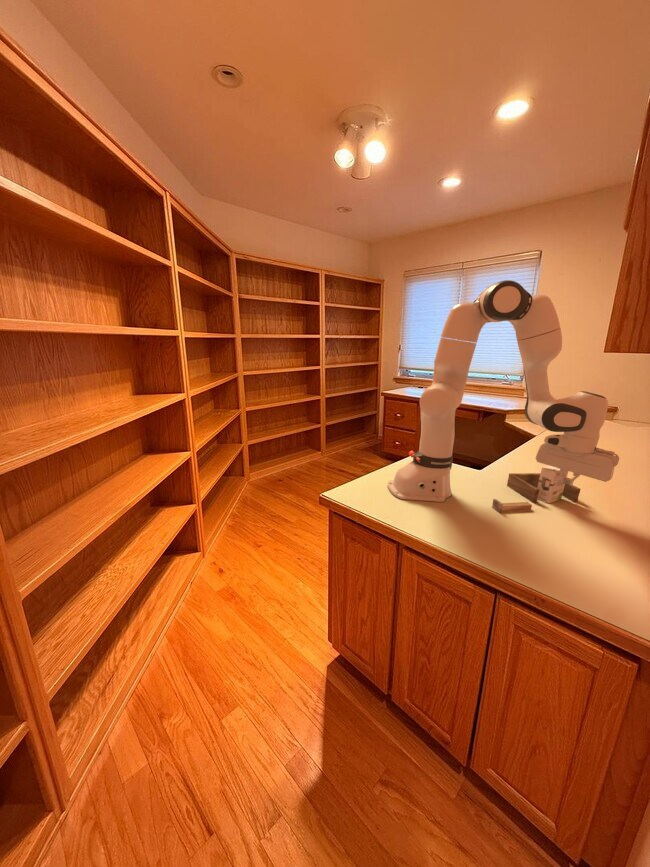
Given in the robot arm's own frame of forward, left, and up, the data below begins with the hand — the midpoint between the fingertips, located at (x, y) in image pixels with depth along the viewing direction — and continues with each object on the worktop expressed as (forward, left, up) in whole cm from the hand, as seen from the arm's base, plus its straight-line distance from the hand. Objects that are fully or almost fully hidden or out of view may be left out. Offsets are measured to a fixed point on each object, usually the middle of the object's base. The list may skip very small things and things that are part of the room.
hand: (566, 483), depth 106 cm
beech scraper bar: (-18, -1, -9) cm, 20 cm away
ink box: (+1, +6, -9) cm, 11 cm away
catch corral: (+1, +10, -9) cm, 13 cm away
